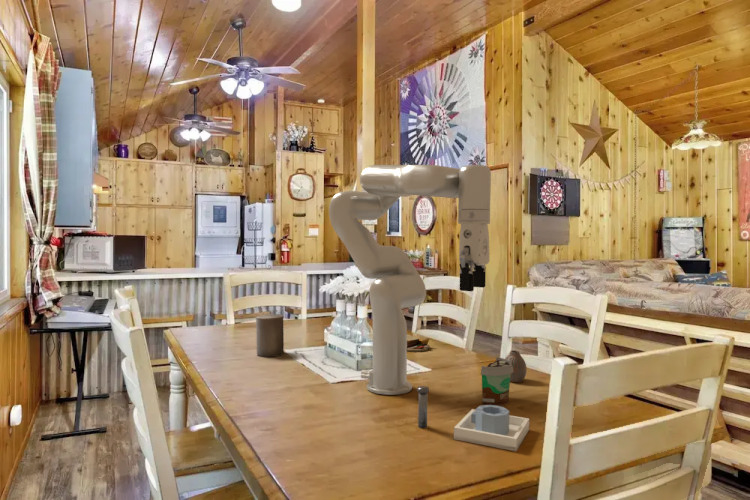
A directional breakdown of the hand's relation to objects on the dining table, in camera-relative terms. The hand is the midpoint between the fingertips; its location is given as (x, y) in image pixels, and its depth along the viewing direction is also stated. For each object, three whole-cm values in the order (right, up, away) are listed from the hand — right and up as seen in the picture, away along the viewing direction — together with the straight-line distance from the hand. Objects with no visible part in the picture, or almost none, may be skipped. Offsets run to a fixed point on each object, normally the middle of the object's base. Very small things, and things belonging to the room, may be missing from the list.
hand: (472, 288), depth 124 cm
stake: (-13, -30, -8) cm, 34 cm away
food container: (+9, -30, +10) cm, 33 cm away
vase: (+18, -30, +29) cm, 45 cm away
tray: (+2, -31, -12) cm, 33 cm away
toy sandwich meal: (-10, -28, +71) cm, 78 cm away
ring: (+2, -30, -13) cm, 32 cm away
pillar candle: (-61, -28, +61) cm, 91 cm away
